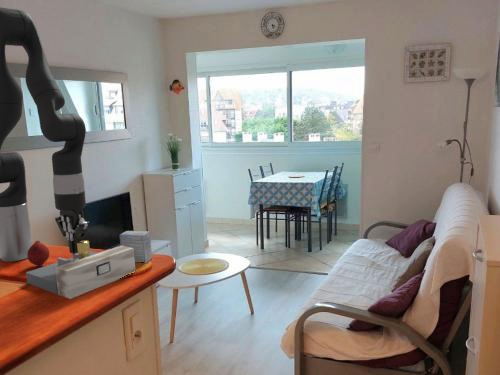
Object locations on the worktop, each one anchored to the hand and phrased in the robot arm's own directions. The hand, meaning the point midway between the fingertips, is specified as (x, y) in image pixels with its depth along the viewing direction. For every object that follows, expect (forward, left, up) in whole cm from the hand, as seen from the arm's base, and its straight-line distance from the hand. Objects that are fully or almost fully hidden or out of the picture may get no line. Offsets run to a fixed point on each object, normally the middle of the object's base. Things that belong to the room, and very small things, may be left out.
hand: (75, 252), depth 115 cm
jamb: (+10, 0, -7) cm, 12 cm away
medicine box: (+5, +17, -7) cm, 19 cm away
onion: (-17, -1, -7) cm, 19 cm away
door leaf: (0, 0, -7) cm, 7 cm away
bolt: (+7, 0, -3) cm, 8 cm away
